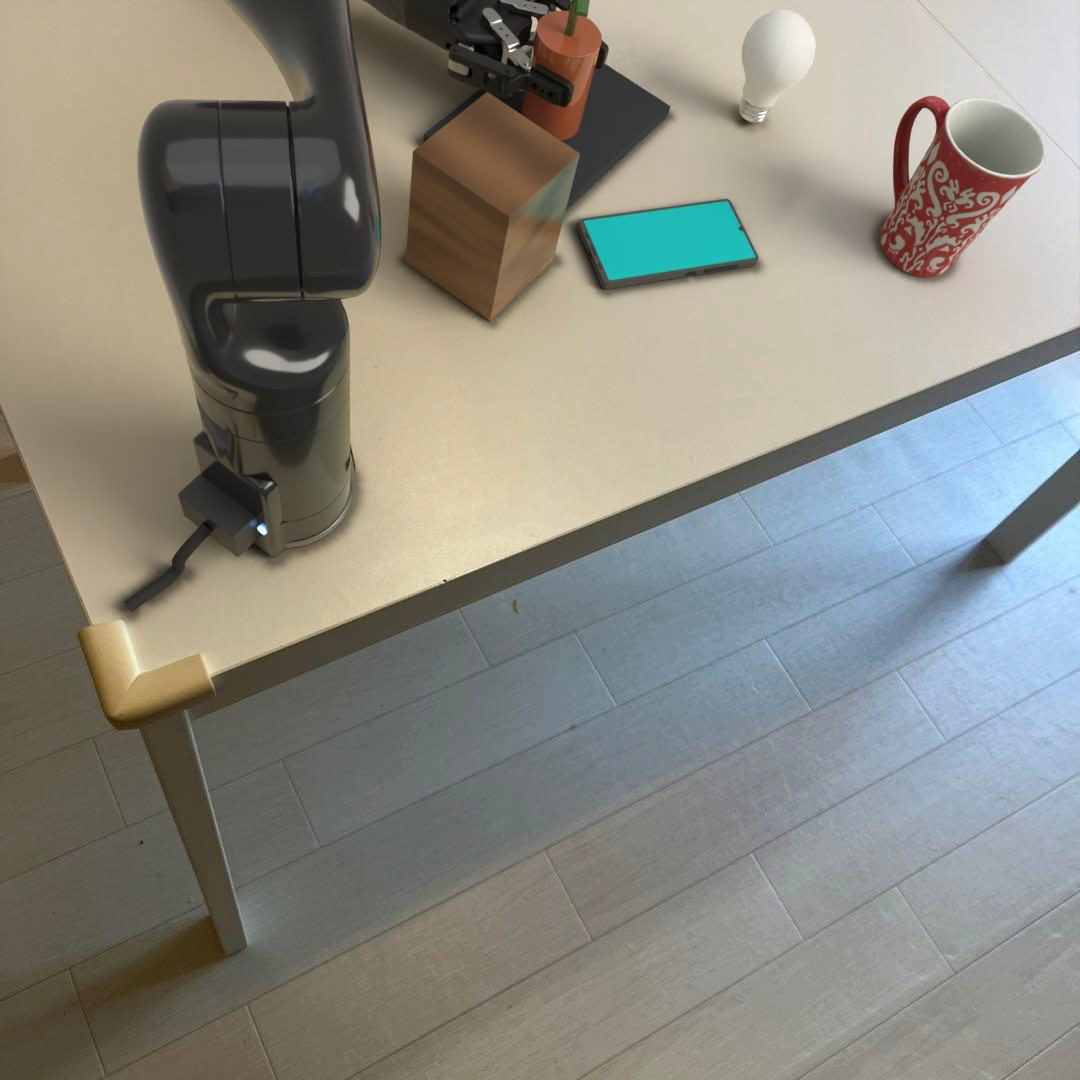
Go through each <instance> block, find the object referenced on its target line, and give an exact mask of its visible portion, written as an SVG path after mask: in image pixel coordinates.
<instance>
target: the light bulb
mask: <svg viewBox="0 0 1080 1080" xmlns="http://www.w3.org/2000/svg"><path fill="white" fill-rule="evenodd" d="M816 41H817V40H816V36H815V33H814V30H813V28H812V26H811V24H810V23H809V22H808V20H806V18H805V17H803V15H801V14H799V13H798V12H795V11H792V10H788V9H777V10H772V11H769V12H767V13H764V14H763V15H762V16H760V17H759V18H757V19H756V20H755V21H754V22H753V23H752V24H751V26H750V27H749V29H748V30H747V32H746V34H745V36H744V39H743V41H742V46H741V63H742V66H743V72H744V77H745V81H744V85H743V87H742V96H741V99H740V101H739V104H738V113H739V114H740V116H741V117H742V118H743V119H744V120H745V121H748V122H750V123H754V124H755V123H756V124H758V123H762V122H763V121H765V120H766V119H767V117H768V115H769V112H770V111H771V108H772V106H773V105H774V104H775V103H776V102H777V100H778V99H779V97H780V95H782V94H783V93H784V92H785V91H787V90H788V89H790V88H792V87H793V86H795V85H797V84H798V83H799V82H801V80H803V79H804V77H805V76H806V75H807V74H808V72H809V71H810V69H811V68H812V66H813V63H814V60H815V56H816V51H817V43H816Z"/></svg>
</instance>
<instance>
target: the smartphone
mask: <svg viewBox="0 0 1080 1080" xmlns="http://www.w3.org/2000/svg"><path fill="white" fill-rule="evenodd" d="M576 230H577V232H578V234H579V237H580V239H581V241H582V244H583V246H584V248H585V251H586V253H587V255H588V258H589V261H590V262H591V265H592V268H593V270H594V272H595V274H596V277H597V279H598V282H599V284H600V286H601V288H602V289H604V290H610V289H611V290H612V289H618V288H623V287H630V286H636V285H642V284H649V283H654V282H661V281H668V280H673V279H679V278H686V277H693V276H699V275H705V274H711V273H712V274H713V273H717V272H724V271H730V270H736V269H737V270H738V269H743V268H750V267H754V266H756V265H757V262H758V261H759V255H758V252H757V251H756V249H755V247H754V244H753V242H752V241H751V239H750V236H749V235H748V233H747V230H746V228H745V226H744V224H743V222H742V221H741V218H740V217H739V214H738V213H737V211H736V209H735V207H734V205H733V203H732V201H731V200H730V199H729V198H721V199H714V200H707V201H700V202H693V203H686V204H685V203H684V204H677V205H671V206H663V207H657V208H648V209H641V210H634V211H626V212H619V213H612V214H605V215H598V216H592V217H584V218H580V219H578V221H577V225H576Z"/></svg>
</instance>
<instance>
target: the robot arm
mask: <svg viewBox="0 0 1080 1080" xmlns="http://www.w3.org/2000/svg"><path fill="white" fill-rule="evenodd" d="M571 1H572V0H362V2H364V3H366V4H368V5H369V6H370V7H372V8H373V9H375V10H376V11H377V12H378V13H380V14H381V15H383V16H384V17H386V18H387V19H389V20H390V21H392V22H394V23H396V24H398V25H399V26H400V27H403V28H405V29H407V30H409V31H410V32H412V33H414V34H416V35H417V36H419V37H421V38H423V39H425V40H426V41H428V42H429V43H432V44H433V45H435V46H437V47H439V48H440V49H442V50H445V51H446V52H448V57H447V58H448V59H447V68H446V75H447V76H448V77H449V78H451V79H453V80H456V81H458V82H461V83H463V84H465V85H468V86H470V87H472V88H475V89H478V90H483V91H485V92H488V93H490V94H492V95H495V96H497V97H500V98H502V99H510V98H511V97H512V93H514V92H516V91H518V90H519V91H521V92H525V91H527V90H528V91H530V92H532V93H533V94H535V95H537V96H539V97H541V98H543V99H544V100H547V101H548V102H550V103H551V104H554V105H559V106H561V107H566V106H567V105H568V104H569V103H570V102H571V100H572V95H573V91H574V85H573V83H572V82H571V81H569V80H567V79H565V78H563V77H562V76H560V75H558V74H556V73H554V72H553V71H551V70H549V69H547V68H546V67H544V66H542V65H540V64H537V65H536V66H535V67H533V62H532V60H531V59H530V58H529V57H528V56H527V55H526V54H525V53H526V52H525V51H524V50H523V49H522V48H523V47H525V46H528V47H532V48H533V44H534V39H535V33H536V30H534V31H532V29H533V28H532V27H533V22H534V21H533V18H535V19H536V21H537V23H538V22H539V20H540V19H541V18H542V17H543V16H544V15H546V14H548V13H550V12H554V11H557V9H559V11H569V10H570V6H571ZM223 2H224V3H225V4H226V6H228V8H230V10H231V11H233V13H234V14H235V15H236V16H237V18H238V19H240V20H241V22H243V24H244V25H245V26H246V27H247V28H248V29H249V30H250V31H251V32H252V33H253V35H254V36H255V37H256V38H257V39H258V41H259V42H260V43H261V44H262V45H263V47H264V48H265V50H266V52H268V54H269V55H270V57H271V58H272V60H273V62H274V63H275V65H276V66H277V68H278V70H279V72H280V74H281V75H282V77H283V79H284V81H285V83H286V86H287V87H288V90H289V92H290V94H291V97H292V99H293V101H292V100H289V101H288V103H287V101H286V100H248V99H247V100H243V99H240V100H239V99H220V100H219V99H171V100H165V101H162V102H159V103H158V104H157V105H156V106H154V107H153V108H152V109H150V111H149V113H148V114H147V116H146V118H145V119H144V121H143V123H142V127H141V129H140V133H139V138H138V143H137V152H136V170H137V173H136V175H137V185H138V192H139V198H140V203H141V210H142V216H143V221H144V224H145V229H146V232H147V236H148V239H149V242H150V246H151V249H152V252H153V256H154V259H155V262H156V265H157V268H158V271H159V274H160V276H161V278H162V279H161V280H162V282H163V285H164V287H165V290H166V291H165V292H166V294H167V296H168V299H169V302H170V305H171V308H172V311H173V315H174V318H175V321H176V325H177V329H178V333H179V337H180V341H181V344H182V347H183V351H184V353H185V354H184V355H185V359H186V363H187V366H188V370H189V373H190V378H191V382H192V386H193V390H194V395H195V399H196V403H197V408H198V411H199V412H198V413H199V416H200V421H201V425H202V428H203V429H202V430H201V431H199V432H198V433H197V434H196V435H194V437H193V438H192V445H193V448H194V452H195V456H196V460H197V464H198V468H199V471H200V473H199V474H198V475H197V476H196V477H195V478H193V479H192V480H191V481H190V482H189V483H188V484H187V485H186V486H185V487H184V488H182V489H181V490H180V491H179V492H178V493H177V497H178V499H179V503H180V506H181V509H182V512H183V515H184V517H186V518H187V519H188V520H189V521H191V522H192V523H193V524H194V525H196V526H197V528H196V529H195V531H194V532H193V533H191V535H190V536H189V537H188V538H187V539H185V541H184V542H183V543H182V545H181V546H180V547H179V548H178V549H177V551H176V552H175V553H174V555H173V557H172V558H171V566H170V567H169V568H168V569H167V570H166V571H165V572H163V573H162V574H161V575H160V576H158V578H156V579H155V580H153V581H152V582H151V583H149V584H148V585H147V586H144V587H143V588H141V589H140V590H139V591H137V592H135V593H134V594H132V595H131V596H129V597H128V598H127V599H126V600H124V601H123V602H122V603H123V605H124V607H125V608H127V609H128V611H130V612H131V613H133V612H134V611H135V610H137V609H138V608H140V607H141V606H142V605H144V604H146V603H147V602H148V601H150V600H152V599H153V598H154V597H156V596H157V595H159V594H160V593H162V592H163V591H164V590H166V589H167V588H168V587H169V586H171V585H172V584H174V583H175V581H176V580H177V579H178V578H179V577H180V576H181V575H182V574H183V572H184V571H185V569H186V562H187V561H188V559H189V558H190V557H191V556H192V555H193V553H194V552H195V551H196V550H197V549H198V548H199V547H200V545H201V544H202V543H203V542H204V541H205V540H206V539H207V538H208V537H211V538H212V539H214V540H215V541H216V542H218V543H219V544H220V545H221V546H223V547H224V548H225V549H226V550H228V551H229V553H231V554H233V555H234V556H235V557H236V558H239V557H241V556H242V554H244V553H245V552H246V551H247V550H248V549H249V548H250V547H251V546H252V545H253V544H255V545H256V546H257V547H259V549H261V550H262V551H263V552H264V553H266V554H267V555H269V556H270V557H271V558H276V557H278V556H279V555H280V554H282V552H283V551H285V550H286V549H292V548H299V547H300V548H301V547H305V546H307V545H310V544H313V543H315V542H318V541H320V540H321V539H323V538H325V537H327V536H328V535H329V534H331V533H332V532H333V531H334V530H335V529H336V528H337V527H338V526H339V525H340V524H341V523H342V521H343V520H344V518H345V517H346V515H347V513H348V512H349V511H348V510H349V509H350V506H351V503H352V497H353V480H352V474H351V472H352V471H351V469H352V468H351V467H353V471H354V473H356V463H355V457H354V453H353V449H352V443H351V331H350V323H349V316H348V314H347V310H346V308H345V307H344V304H343V302H342V300H347V299H351V298H357V297H359V296H362V295H363V294H364V293H365V292H367V290H368V289H369V288H370V287H371V285H372V284H373V282H374V281H375V278H376V276H377V272H378V269H379V266H380V260H381V254H382V253H381V252H382V210H381V200H380V198H381V197H380V191H379V184H378V183H379V182H378V177H377V176H378V175H377V169H376V161H375V156H374V149H373V143H372V138H371V131H370V127H369V125H370V124H369V121H368V114H367V109H366V102H365V97H364V92H363V86H362V80H361V73H360V69H359V63H358V57H357V51H356V45H355V40H354V39H355V38H354V34H353V26H352V19H351V18H352V17H351V12H350V2H349V0H223ZM609 51H610V48H609V45H608V44H607V43H606V42H605V41H604V40H603V39H602V42H601V46H600V50H599V54H598V58H597V62H596V66H595V68H596V69H601V68H602V66H603V65H604V64H606V62H607V58H608V55H609ZM489 74H491V75H493V76H495V77H496V76H498V77H500V82H498V81H496V80H493V79H494V78H491V77H490V76H489ZM351 462H352V465H351Z"/></svg>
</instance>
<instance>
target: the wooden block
mask: <svg viewBox="0 0 1080 1080" xmlns="http://www.w3.org/2000/svg"><path fill="white" fill-rule="evenodd" d="M579 156H580V153H578V152H577V151H575V150H574V149H572V148H571V147H569V146H568V145H566V144H565V143H563V142H562V141H560V140H559V139H557V138H556V137H554V136H553V135H551V134H550V133H548V132H547V131H545V130H544V129H542V128H541V127H539V126H538V125H536V124H535V123H533V122H532V121H530V120H529V119H527V118H526V117H524V116H523V115H521V114H520V113H518V112H517V111H515V110H514V109H512V108H511V107H509V106H508V105H506V104H505V103H503V102H502V101H500V100H499V99H497V98H496V97H494V96H493V95H491V94H490V93H488V92H486V93H485V94H484V95H483V96H481V97H480V98H479V99H477V100H476V101H475V102H474V103H472V104H471V105H470V106H469V107H467V108H466V109H465V110H464V111H462V112H461V113H460V114H459V115H457V116H456V117H455V118H454V119H452V120H451V121H450V122H449V123H447V124H446V125H445V126H444V127H442V128H441V129H440V130H439V131H437V132H436V133H435V134H434V135H432V136H431V137H430V138H429V139H427V140H426V141H425V142H424V143H423V142H422V143H421V144H420V145H418V146H417V147H416V148H415V149H414V150H412V162H411V173H410V186H409V187H410V188H409V189H410V190H409V205H408V219H407V235H406V247H405V248H406V249H405V263H406V264H408V265H409V266H410V267H412V268H414V269H415V270H416V271H417V272H419V273H420V274H422V275H423V276H424V277H426V278H428V279H429V280H431V281H432V282H433V283H435V284H436V285H438V286H439V287H440V288H441V289H443V290H445V291H446V292H447V293H448V294H450V295H452V296H453V297H455V298H456V299H457V300H459V301H460V302H462V303H463V304H464V305H466V306H467V307H468V308H470V309H471V310H473V311H474V312H476V313H477V314H478V315H480V316H481V317H483V318H484V319H486V320H487V321H489V322H491V321H492V320H494V318H495V317H497V316H498V314H499V313H501V312H502V311H503V310H504V309H505V308H506V307H507V306H509V304H510V303H511V302H512V301H513V300H514V299H515V298H516V297H517V296H518V295H519V294H520V293H521V292H522V291H523V290H525V288H526V287H528V286H529V284H530V283H532V282H533V280H535V279H536V278H537V277H538V276H539V275H540V274H541V273H542V272H543V271H544V270H545V269H546V268H547V267H548V266H549V265H551V263H552V262H553V261H554V259H555V254H556V251H557V247H558V242H559V239H560V235H561V230H562V226H563V222H564V219H565V216H566V212H567V211H566V207H567V203H568V199H569V195H570V191H571V187H572V184H573V180H574V176H575V172H576V168H577V164H578V160H579ZM565 211H566V212H565Z"/></svg>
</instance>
